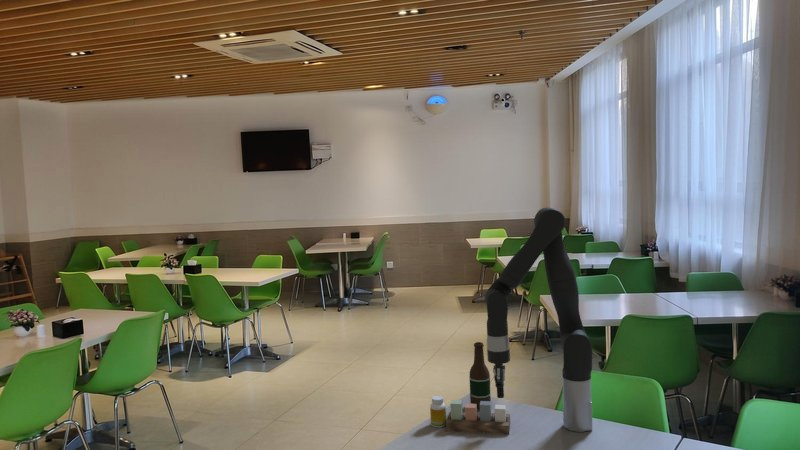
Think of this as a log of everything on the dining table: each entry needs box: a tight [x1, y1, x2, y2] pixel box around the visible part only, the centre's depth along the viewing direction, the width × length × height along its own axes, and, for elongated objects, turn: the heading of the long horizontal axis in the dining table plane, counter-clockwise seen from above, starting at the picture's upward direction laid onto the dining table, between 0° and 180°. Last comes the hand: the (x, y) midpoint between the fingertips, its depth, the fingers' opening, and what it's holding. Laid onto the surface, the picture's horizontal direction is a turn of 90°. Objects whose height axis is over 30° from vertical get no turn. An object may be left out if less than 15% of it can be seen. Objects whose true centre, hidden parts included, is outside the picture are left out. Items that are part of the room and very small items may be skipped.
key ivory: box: [494, 404, 507, 422], centre depth 209 cm, size 4×4×6 cm
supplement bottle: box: [429, 395, 447, 429], centre depth 213 cm, size 5×5×10 cm
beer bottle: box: [469, 341, 492, 410], centre depth 228 cm, size 8×8×24 cm
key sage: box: [450, 399, 464, 420], centre depth 212 cm, size 4×4×6 cm
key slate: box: [479, 401, 492, 421], centre depth 209 cm, size 4×4×6 cm
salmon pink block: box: [464, 403, 478, 421], centre depth 211 cm, size 4×4×6 cm
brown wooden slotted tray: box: [445, 410, 511, 435], centre depth 210 cm, size 21×10×3 cm, turn 78°
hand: (500, 397), depth 208 cm, fingers closed
